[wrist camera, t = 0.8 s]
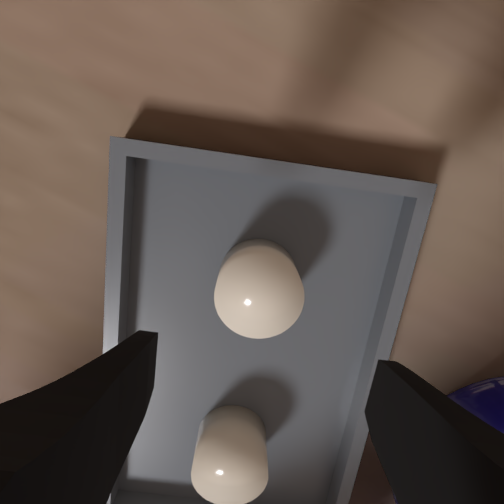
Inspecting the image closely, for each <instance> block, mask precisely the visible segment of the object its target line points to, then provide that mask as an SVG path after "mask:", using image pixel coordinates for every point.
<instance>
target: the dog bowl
mask: <svg viewBox="0 0 504 504" xmlns="http://www.w3.org/2000/svg"><path fill="white" fill-rule="evenodd" d="M447 397H449V398H450V399H451V400H453V401H454V402H456V403H457V404H459V405H460V406H462V407H463V408H464V409H466V410H467V411H469V412H470V413H472V414H474V415H475V416H477V417H478V418H480V419H481V420H483V421H484V422H486V423H487V424H489V425H490V426H492V427H494V428H495V429H497V430H499V431H500V432H502V433H504V377H497V378H492V379H487V380H483V381H480V382H477V383H474V384H471V385H468V386H466V387H463V388H461V389H459V390H457V391H455V392H453V393H451V394H449V395H447ZM392 491H393V490H392ZM393 495H394V493H393ZM394 499H395V502H396V504H398V502H397V500H396V498H395V495H394Z"/></svg>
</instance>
